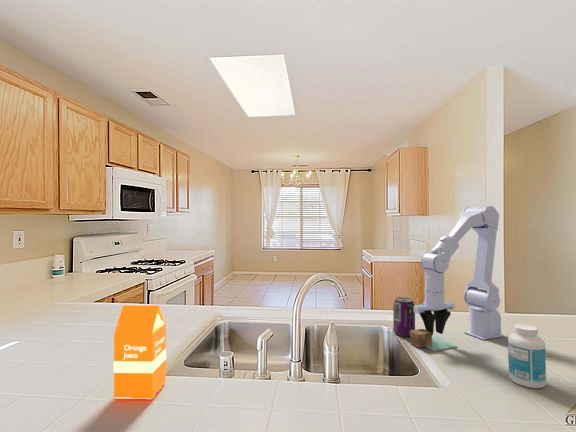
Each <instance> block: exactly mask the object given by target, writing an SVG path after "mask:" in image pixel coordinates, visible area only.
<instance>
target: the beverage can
mask: <svg viewBox="0 0 576 432" xmlns="http://www.w3.org/2000/svg"><path fill="white" fill-rule="evenodd" d="M392 306H393V310H392V311H393V313H392V314H393V317H392V319H393V327H392V328H393V332H394V333H395V334H397V335H398V336H400V337H410V330H416V313H415V312H414V306H416V305H415V302H414V299H413V298H412V297H411V298H410V297H404V296H403V297H402V296H399V297H395V298H394V302H393V305H392Z"/></svg>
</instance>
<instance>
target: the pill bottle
mask: <svg viewBox="0 0 576 432" xmlns="http://www.w3.org/2000/svg"><path fill="white" fill-rule="evenodd" d="M513 328H514V332H512V333H510V334H509V335H508V338H507V349H508V350H507V351H508V354H507V355H508V356H507V357H508V377H509V379H510V380H511V381H512V382H514V383H515V384H517V385H518V386H522V387H525V388H531V389H542V388H544V387H546V384H547V369H546V368H547V367H546V364H547V363H546V359H547V358H546V343H545V341H544V339H543V338H541V337H540V336H538V334H539V329H538V327H537V326H533V325H530V324H523V323H516V324H514V327H513Z"/></svg>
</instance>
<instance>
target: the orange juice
mask: <svg viewBox="0 0 576 432" xmlns="http://www.w3.org/2000/svg"><path fill="white" fill-rule="evenodd" d="M166 326H167V325H166V322H165V319H164V317H163V314H162V311H161V307H160V306H159V305H131V304H130V305H127V304H125V305H122V309H121V310H120V314H119V317H118V320H117V324H116V327H115V330H114V332H113V398H114V397H131V398H153V397H154V396H155V394H156V393H157V392H158V391H159V389H160V388H161V387H162V386H163V384H164V383H165V382H166V381H167V377H166V376H167V364H166V363H167V349H166V347H167V344H166V343H167V341H166V339H167V336H166V335H167V333H166V331H167V330H166V329H167V327H166ZM166 383H167V382H166ZM163 387H164V386H163ZM163 387H162V388H163ZM159 392H160V391H159ZM159 392H158V393H159ZM155 397H156V396H155ZM155 397H154V398H155Z"/></svg>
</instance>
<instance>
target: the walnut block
mask: <svg viewBox="0 0 576 432" xmlns="http://www.w3.org/2000/svg"><path fill="white" fill-rule="evenodd" d="M432 337H433V335H432V333H431V332H429V331H427V330H426V329H425V328H420V329H419V328H418V329H415V330H410V336H409V343H410V344H411V345H413V346H415V347H416V348H418V349H419V348H426V347H427V346H432Z"/></svg>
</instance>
